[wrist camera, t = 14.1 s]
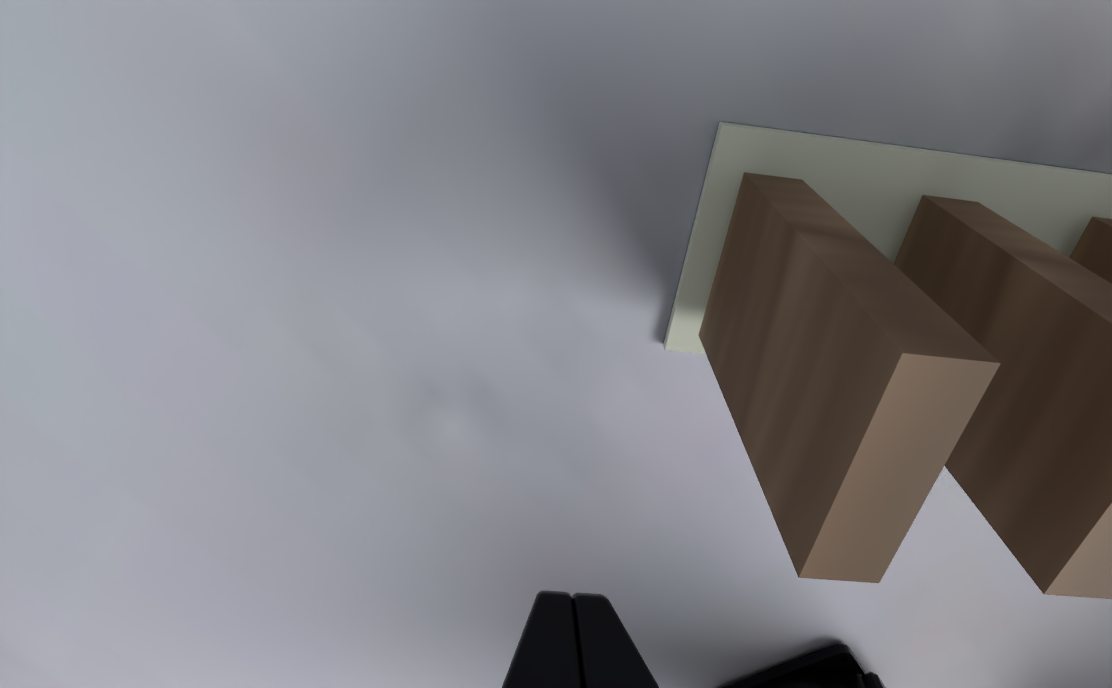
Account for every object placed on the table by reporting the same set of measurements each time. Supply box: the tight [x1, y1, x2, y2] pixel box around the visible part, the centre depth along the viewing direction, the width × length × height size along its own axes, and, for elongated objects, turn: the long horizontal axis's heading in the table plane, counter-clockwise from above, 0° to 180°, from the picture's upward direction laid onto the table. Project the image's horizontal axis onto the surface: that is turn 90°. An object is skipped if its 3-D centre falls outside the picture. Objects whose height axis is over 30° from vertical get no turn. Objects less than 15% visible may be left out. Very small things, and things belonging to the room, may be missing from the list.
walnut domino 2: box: [894, 195, 1112, 599], centre depth 16 cm, size 2×5×9 cm, turn 172°
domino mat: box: [663, 122, 1112, 354], centre depth 21 cm, size 23×7×1 cm, turn 82°
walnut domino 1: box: [698, 172, 1001, 583], centre depth 16 cm, size 2×5×9 cm, turn 172°
